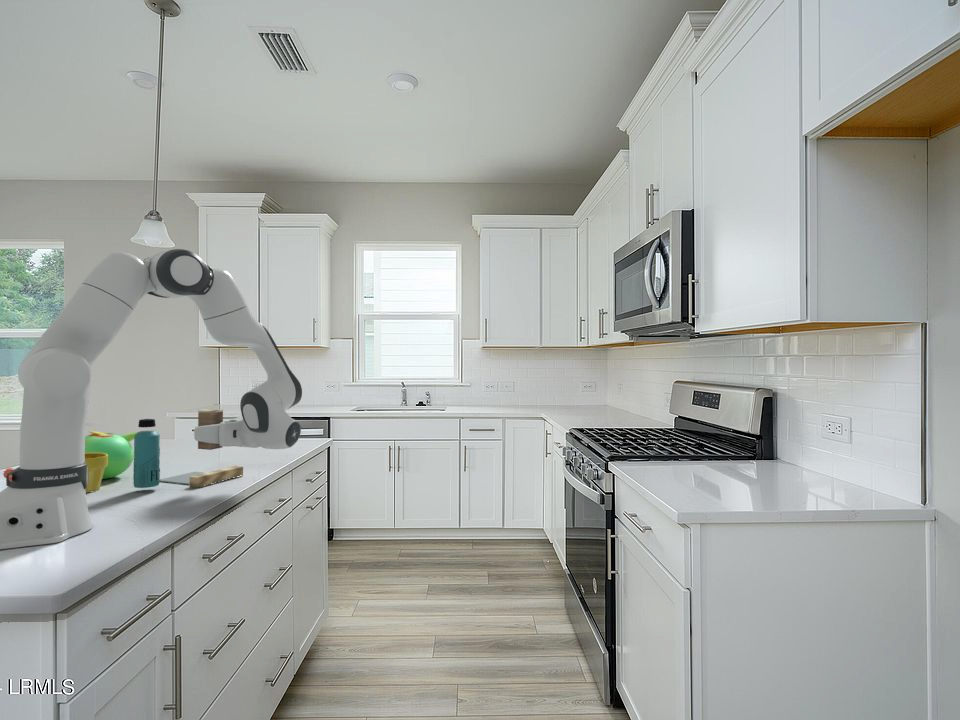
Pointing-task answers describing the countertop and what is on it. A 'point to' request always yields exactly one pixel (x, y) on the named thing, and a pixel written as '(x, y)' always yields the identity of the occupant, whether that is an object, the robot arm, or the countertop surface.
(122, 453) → the green rounded body
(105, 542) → the countertop surface
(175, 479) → the grey mat
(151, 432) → the beverage bottle
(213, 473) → the oak rail
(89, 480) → the plant pot
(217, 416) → the walnut block
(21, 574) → the countertop surface
